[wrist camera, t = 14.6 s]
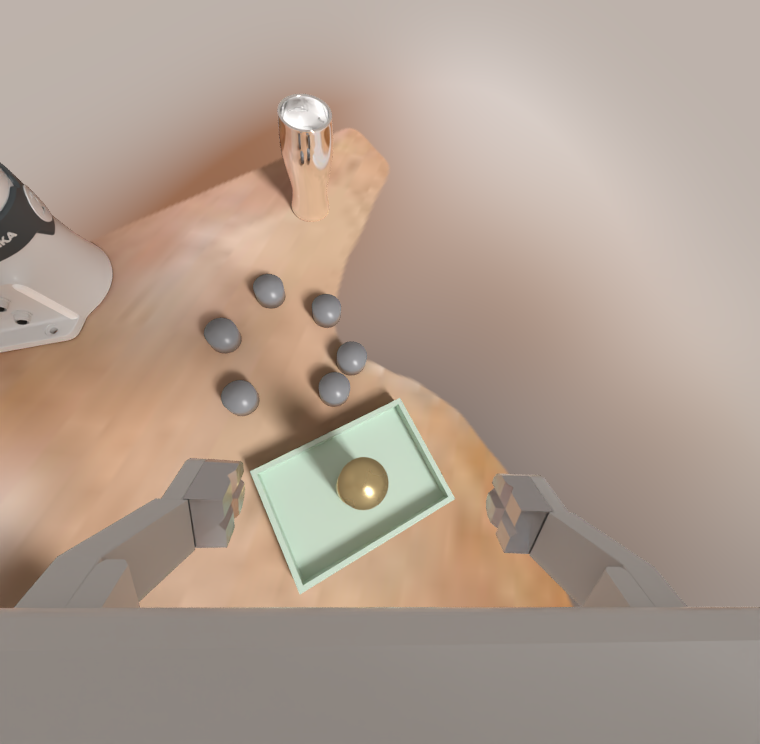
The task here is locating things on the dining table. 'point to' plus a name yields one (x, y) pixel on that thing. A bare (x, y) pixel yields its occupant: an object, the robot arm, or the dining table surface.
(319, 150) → the beer glass
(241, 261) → the dining table surface
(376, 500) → the gold metal cylinder
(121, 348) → the dining table surface
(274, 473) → the tray
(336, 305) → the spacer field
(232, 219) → the dining table surface
